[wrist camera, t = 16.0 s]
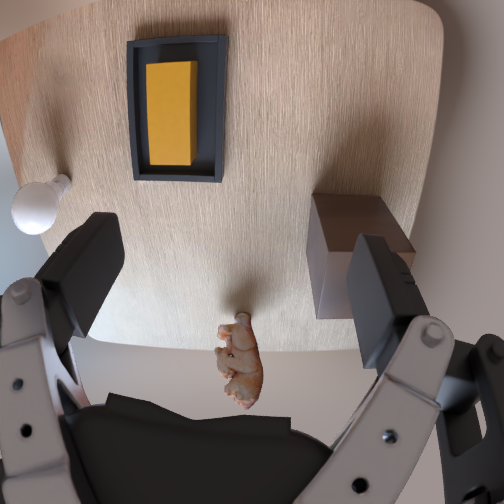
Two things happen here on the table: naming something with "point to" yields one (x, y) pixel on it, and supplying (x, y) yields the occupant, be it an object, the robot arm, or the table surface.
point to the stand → (345, 245)
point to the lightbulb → (38, 204)
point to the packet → (172, 112)
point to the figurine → (240, 361)
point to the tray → (208, 104)
